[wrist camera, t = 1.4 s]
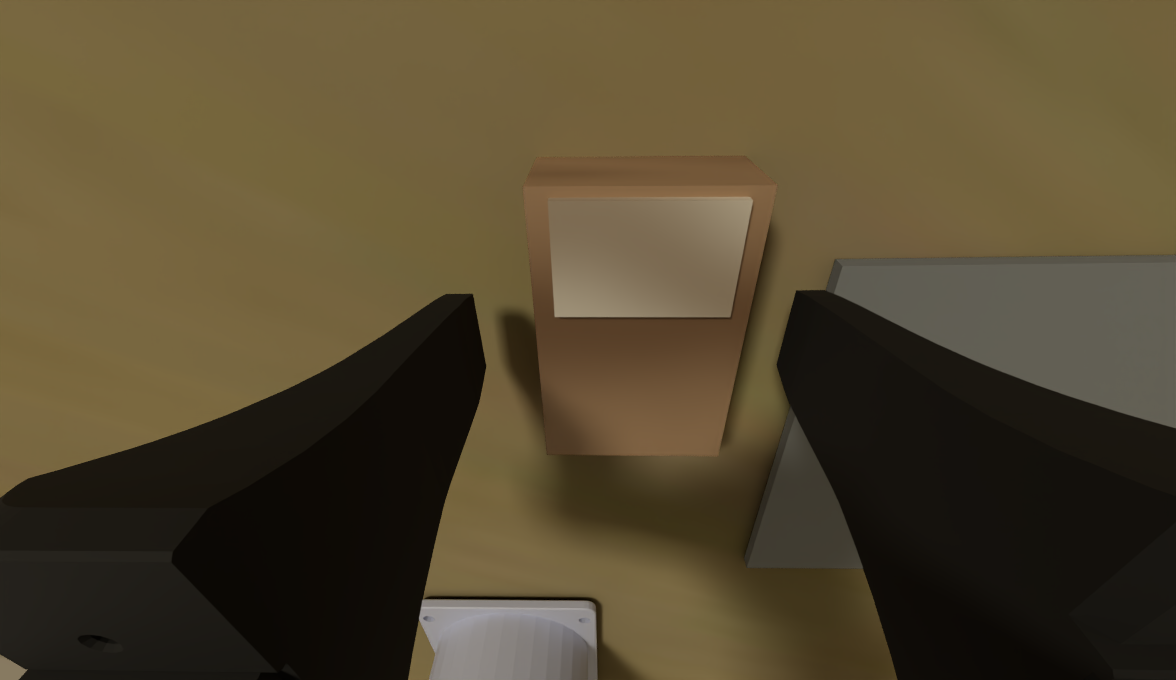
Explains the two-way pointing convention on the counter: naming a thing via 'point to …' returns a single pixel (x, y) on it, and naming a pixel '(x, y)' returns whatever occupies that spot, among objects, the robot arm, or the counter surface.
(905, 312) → the slate mat
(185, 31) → the counter surface
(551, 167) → the walnut block
